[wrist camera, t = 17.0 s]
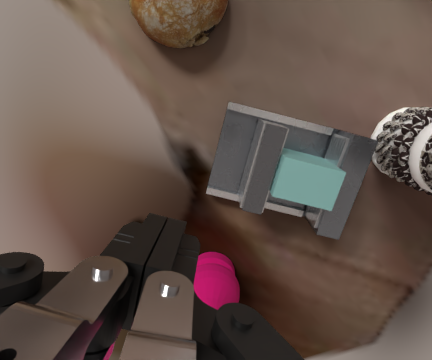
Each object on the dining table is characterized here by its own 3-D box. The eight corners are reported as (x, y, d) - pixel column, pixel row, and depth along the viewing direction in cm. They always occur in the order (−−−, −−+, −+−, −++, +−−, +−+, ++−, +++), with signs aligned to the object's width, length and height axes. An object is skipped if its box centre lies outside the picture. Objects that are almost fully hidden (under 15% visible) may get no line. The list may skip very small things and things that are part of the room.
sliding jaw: (237, 192, 35) (239, 209, 30) (258, 118, 33) (265, 122, 28) (257, 197, 36) (263, 215, 30) (280, 124, 33) (290, 129, 28)
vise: (206, 188, 37) (203, 206, 31) (228, 101, 34) (229, 102, 28) (320, 216, 38) (338, 239, 32) (351, 132, 35) (378, 140, 29)
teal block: (263, 177, 35) (272, 196, 28) (273, 145, 34) (284, 156, 27) (311, 189, 35) (331, 211, 29) (322, 157, 34) (346, 172, 28)
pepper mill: (177, 258, 40) (132, 406, 21) (225, 240, 39) (225, 377, 20) (199, 300, 42) (176, 473, 23) (246, 283, 41) (264, 449, 22)
